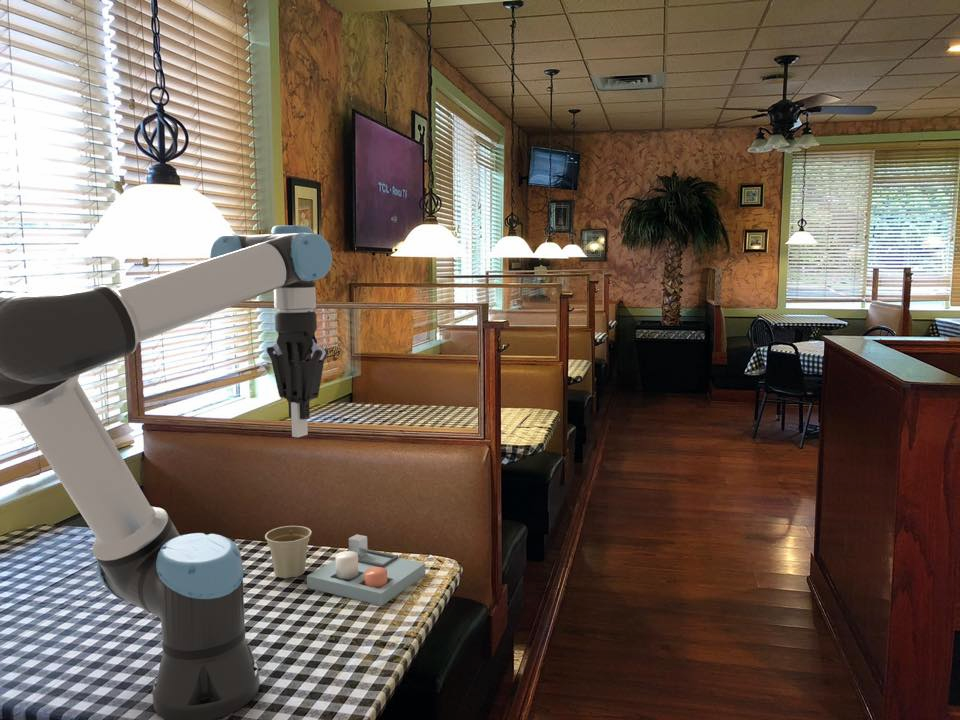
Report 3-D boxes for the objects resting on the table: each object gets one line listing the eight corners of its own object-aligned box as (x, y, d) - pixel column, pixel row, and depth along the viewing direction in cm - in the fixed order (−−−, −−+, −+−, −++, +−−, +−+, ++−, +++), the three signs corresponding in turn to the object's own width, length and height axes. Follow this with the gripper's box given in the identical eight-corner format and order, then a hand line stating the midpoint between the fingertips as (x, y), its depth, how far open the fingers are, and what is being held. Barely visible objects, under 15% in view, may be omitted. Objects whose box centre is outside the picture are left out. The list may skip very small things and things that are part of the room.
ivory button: (349, 580, 147) (348, 561, 146) (331, 576, 149) (331, 557, 148) (362, 572, 150) (362, 553, 150) (345, 568, 152) (344, 549, 152)
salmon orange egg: (379, 597, 144) (378, 577, 143) (360, 593, 146) (360, 573, 145) (391, 588, 148) (391, 569, 147) (373, 584, 150) (373, 565, 149)
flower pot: (306, 582, 152) (305, 542, 151) (260, 582, 152) (259, 541, 151) (317, 564, 161) (316, 525, 160) (274, 564, 161) (272, 525, 160)
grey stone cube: (359, 558, 157) (359, 540, 157) (349, 556, 159) (348, 538, 158) (367, 554, 160) (367, 536, 159) (356, 552, 161) (356, 534, 161)
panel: (381, 605, 141) (381, 590, 141) (307, 587, 149) (306, 573, 149) (425, 574, 155) (425, 560, 155) (355, 559, 164) (354, 546, 163)
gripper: (336, 310, 138) (340, 435, 141) (282, 308, 144) (286, 428, 147) (310, 312, 131) (314, 443, 134) (254, 310, 137) (259, 436, 140)
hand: (300, 435), depth 140 cm, fingers closed
